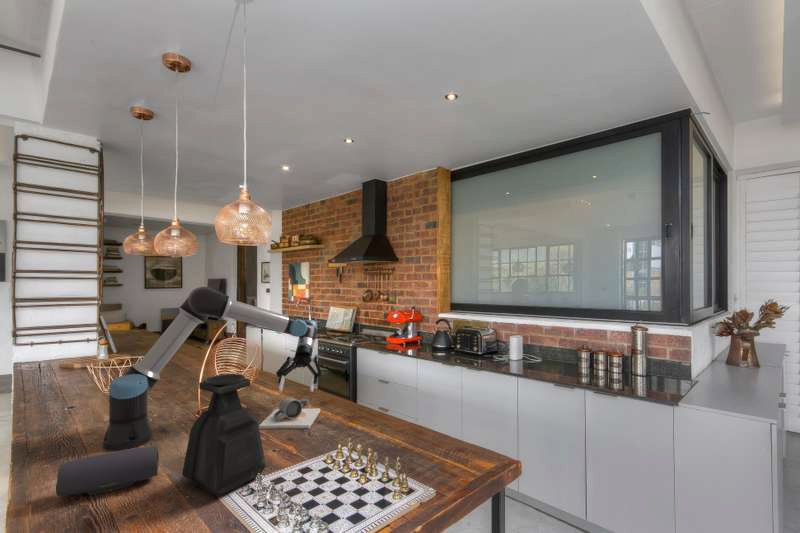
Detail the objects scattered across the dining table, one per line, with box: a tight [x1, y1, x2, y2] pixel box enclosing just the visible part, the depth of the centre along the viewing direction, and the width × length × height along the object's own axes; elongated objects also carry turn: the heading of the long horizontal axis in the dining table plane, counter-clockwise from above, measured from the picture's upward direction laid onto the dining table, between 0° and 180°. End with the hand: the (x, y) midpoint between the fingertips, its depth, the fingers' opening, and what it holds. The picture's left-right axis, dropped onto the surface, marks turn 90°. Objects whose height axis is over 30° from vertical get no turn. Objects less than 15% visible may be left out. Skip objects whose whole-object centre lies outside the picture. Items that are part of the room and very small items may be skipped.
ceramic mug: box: [274, 397, 303, 420], centre depth 164 cm, size 11×8×8 cm
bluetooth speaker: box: [55, 445, 160, 497], centre depth 112 cm, size 23×9×10 cm, turn 118°
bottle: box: [182, 373, 267, 497], centre depth 116 cm, size 18×16×30 cm
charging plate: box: [258, 398, 321, 430], centre depth 171 cm, size 32×20×2 cm, turn 179°
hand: (295, 390), depth 169 cm, fingers open, 13 cm apart
